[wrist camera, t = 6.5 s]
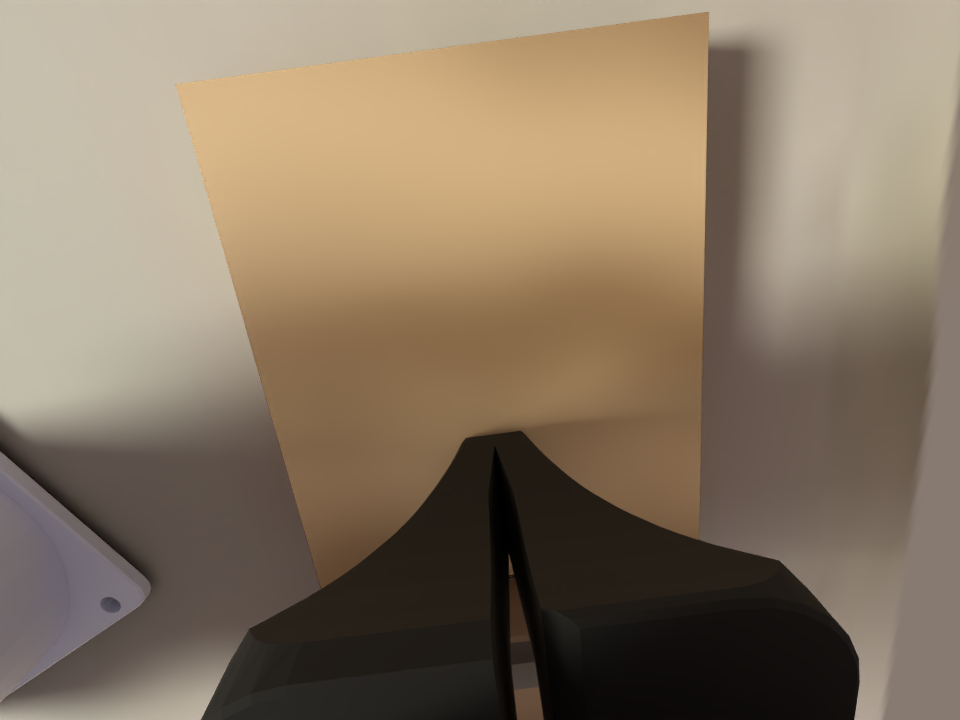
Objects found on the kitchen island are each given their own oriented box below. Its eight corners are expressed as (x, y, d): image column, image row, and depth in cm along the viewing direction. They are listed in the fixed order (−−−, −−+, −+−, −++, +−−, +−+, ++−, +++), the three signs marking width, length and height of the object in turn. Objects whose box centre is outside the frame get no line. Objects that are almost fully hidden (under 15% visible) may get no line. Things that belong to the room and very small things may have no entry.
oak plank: (669, 505, 14) (698, 550, 12) (341, 547, 14) (323, 598, 12) (666, 42, 10) (709, 12, 8) (224, 102, 10) (175, 84, 8)
